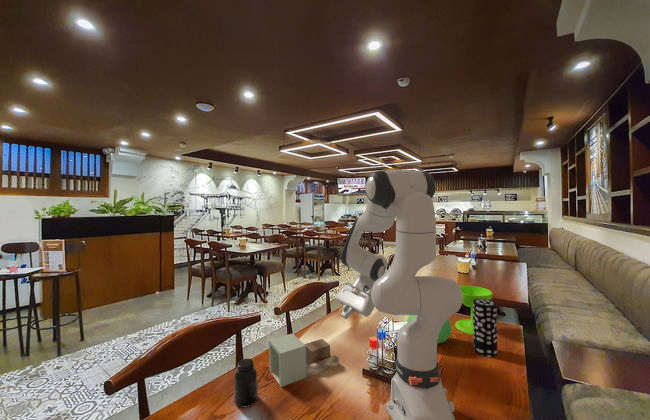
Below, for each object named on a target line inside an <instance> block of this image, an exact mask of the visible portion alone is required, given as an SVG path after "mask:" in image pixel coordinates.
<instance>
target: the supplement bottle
mask: <svg viewBox="0 0 650 420" xmlns="http://www.w3.org/2000/svg"><path fill="white" fill-rule="evenodd" d="M236 368H237V369H236V372H235V373H234V380H233V381H234V403H235V404H236V406H238V405H239V406H238V407H240V406H247V407H249V406H248V405H250V406H251V404H252V403H253V404H254V403H255V402H256V401H257V400H258V371H257V368H255V367H254V360H253V359H252V358H243V359H240V360H239V361H238V363H237V367H236ZM253 404H252V405H253Z"/></svg>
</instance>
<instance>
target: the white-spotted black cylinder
mask: <svg viewBox="0 0 650 420" xmlns="http://www.w3.org/2000/svg"><path fill="white" fill-rule="evenodd" d="M472 336H473V351H474V353H476V354H478V355H480V356H482V357H487V358H494V357H496V356H498V304H497V302H496V301H493V300H487V299H474V300H473V335H472Z"/></svg>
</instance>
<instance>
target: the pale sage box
mask: <svg viewBox="0 0 650 420" xmlns="http://www.w3.org/2000/svg"><path fill="white" fill-rule="evenodd" d="M305 344H306V343H304V342H303V341H302V340H300V339H299V338H298V337H297V336H296V335H295V334H294V333H289V334H285V335H282V336H279V337H275V338H271V339H269V340H268V353H269V354H268V355H269V356H268V358H269V359H268V361H269V372H270V373H271V372H274V371H277V370H279V383H278V385H279V387H280V388H282V386H283V387H285V386H287V385H290V383H291V384H294V383H296V382H298V381H301V380H303V378H304V379H306V378H308V377H307V375H306V345H305ZM295 381H296V382H295Z"/></svg>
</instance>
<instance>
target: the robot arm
mask: <svg viewBox="0 0 650 420" xmlns="http://www.w3.org/2000/svg"><path fill="white" fill-rule="evenodd" d="M436 186H437V185H436V179H435V178H434V176H433V175H432V174H431V173H429V172H428V171H424V170H412V169H411V170H408V169H389V170H376V171H374V172H371V173H370V174H369V175H368V177H367V178H366V182H365V194H366V197H367V202H366V206H365V211H364V212H360V213H359V214H358V215H357V216H356V217H355V219H354V221H353V224H352V226H351V229H350V230H349V233H348V235H347V236H348V237H347V239H346V242H345V244H344V245H343V247H342V250H341V251H340V255H339V256H340V261H341V263H342V265H343V266H345V267H348V268H350V269H351V270H354V271H355V272H356V273H359V274H358V275H357V276H356V278H354V281H353V282H352V284H351V283H348V284H345V285H344V286H342V287H341V289H339V291H338V292H337V293H336V295H335V297H334V298H335V300H336V301H337V303H339V304H341V305H343V306H342V309H341V310H342V311H341V313H339V314H340V316H341V317H342V318H344V319H345V320H348V318H349V317H350V316H352V315H353V314H354V313H355V312H356V313H358V314H359V315H362V316H363V317H365V318H368V317H369V316H370V315H371V314H372V312H373V311H374V309H376V310H377V311H378V312H379V313H383V314H387V315H393V316H410V315H416V316H415V318H414V319H413V320H412V321H410V322H409V323H407V322H406V324H403V325H402V326H401V327H400V329H399V330H398V332H397V335H396V351H397V355H396V357H395V371H396V372H395V373H394V375H393V377H392V378H391V381H390V382H391V383H390V384H391V385H390V386H391V387H390V400H388V401H387V402H386V404H385V410H386V412H387V413H388V415H389V417H390V416H391V417H390V418H391V419H393V420H456V418H455V416H454V412H455V404H454V401H448V399H447V395H448V389H447V388H446V387H444V385H443V383H442V378H441V374H440V367H439V362H438V357H437V356H438V352H437V351H438V344H437V341H438V336H439V333H440V330H441V328H442V327H443V325H444V323H445V322H446V321H447V320H449V319H450V318H451V317H452V316H453V315H454V314H456V313H458V312H459V311H460V309H461V307H462V306H463V304H462V301H463V296H462V291H461V289H460V287H459V286H460V285H459V284H458V282H456V281H455V280H454V279H453V278H448V277H443V276H439V275H438V276H437V275H428V276H427V275H422V276H421V275H419V276H416V275H417V273H418V272H420V270H421V269H423V268H424V267H426V266H429V264H431V263H432V262H433V261H434V259H435V258H436V256H437V222H436V219H437V218H436V211H435V206H434V201H433V197H434V195H435V194H436V193H435V192H436V190H437V189H436ZM394 223H395V248H394V256H393V260H392V262H391V264H390V266H389V268H388V260H387V259H386V258H385V256H383V255H381V254H380V253H379V254H378V253H372V252H370V250H367V249H365V248H363V247H362V246H361V245H360V244H359V243H360V240H361V237H362V234H363V232H370V233H381V232H385V231H387V230H389V229H390V228H392V226H393V225H394ZM387 268H388V269H387Z"/></svg>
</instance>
